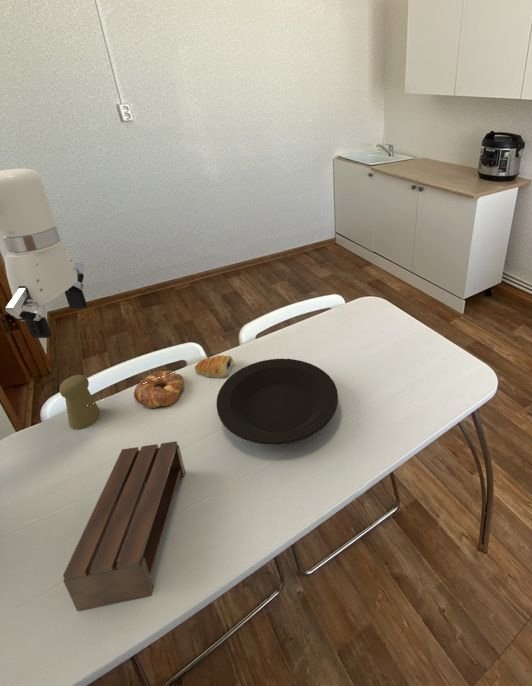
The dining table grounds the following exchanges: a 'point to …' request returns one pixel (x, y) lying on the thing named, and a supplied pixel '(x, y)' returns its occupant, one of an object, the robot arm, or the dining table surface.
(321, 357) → the dining table surface
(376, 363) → the dining table surface
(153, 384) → the ring bread
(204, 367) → the pastry
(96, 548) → the rack
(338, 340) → the dining table surface
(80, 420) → the olive green shaker
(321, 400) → the plate
